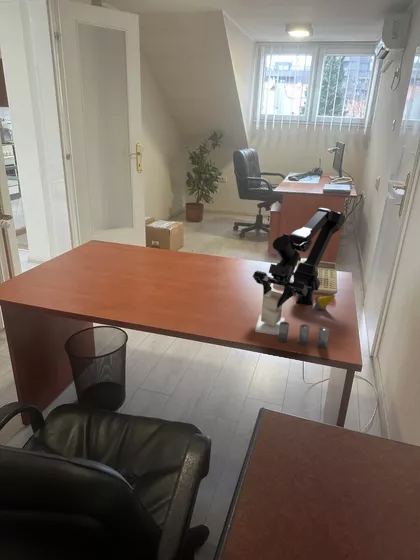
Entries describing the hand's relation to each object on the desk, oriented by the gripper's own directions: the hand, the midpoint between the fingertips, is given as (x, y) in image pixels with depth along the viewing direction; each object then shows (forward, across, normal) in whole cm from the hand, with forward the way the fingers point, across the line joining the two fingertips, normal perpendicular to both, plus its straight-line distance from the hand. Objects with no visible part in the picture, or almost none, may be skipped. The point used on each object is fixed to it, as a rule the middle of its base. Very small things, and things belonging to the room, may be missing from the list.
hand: (270, 304), depth 135 cm
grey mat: (+5, 0, +7) cm, 9 cm away
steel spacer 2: (+6, +19, +6) cm, 21 cm away
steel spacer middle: (+8, +14, +4) cm, 16 cm away
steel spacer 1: (+10, +8, +2) cm, 12 cm away
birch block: (+4, 0, +6) cm, 7 cm away
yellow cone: (-12, +10, +24) cm, 29 cm away
